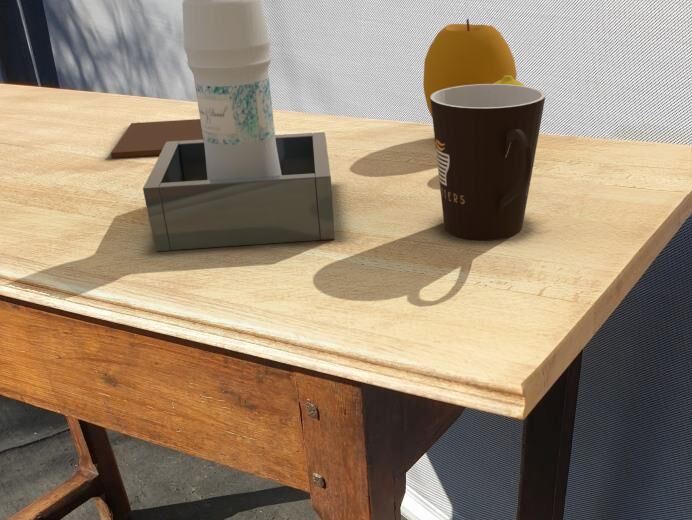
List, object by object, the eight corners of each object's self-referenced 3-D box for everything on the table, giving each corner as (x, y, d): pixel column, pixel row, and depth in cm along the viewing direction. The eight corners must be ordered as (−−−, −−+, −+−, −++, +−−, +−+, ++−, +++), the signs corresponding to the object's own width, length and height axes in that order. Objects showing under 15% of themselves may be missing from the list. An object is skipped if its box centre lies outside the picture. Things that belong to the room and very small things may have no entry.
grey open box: (155, 251, 66) (142, 188, 63) (176, 197, 78) (166, 141, 75) (335, 239, 67) (330, 176, 64) (329, 187, 79) (325, 131, 76)
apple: (524, 131, 93) (531, 13, 86) (493, 153, 86) (497, 26, 80) (444, 125, 97) (445, 11, 90) (408, 145, 90) (406, 24, 83)
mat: (111, 158, 91) (110, 152, 90) (132, 128, 102) (131, 123, 102) (240, 150, 91) (239, 144, 91) (246, 121, 103) (245, 116, 102)
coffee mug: (437, 208, 72) (437, 84, 67) (537, 210, 71) (546, 83, 65) (418, 257, 63) (417, 118, 57) (534, 261, 62) (544, 118, 56)
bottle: (195, 218, 73) (150, -51, 61) (256, 199, 76) (224, -58, 65) (242, 235, 69) (203, -50, 57) (304, 214, 72) (278, -57, 61)
